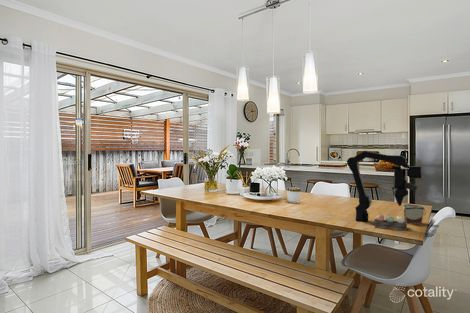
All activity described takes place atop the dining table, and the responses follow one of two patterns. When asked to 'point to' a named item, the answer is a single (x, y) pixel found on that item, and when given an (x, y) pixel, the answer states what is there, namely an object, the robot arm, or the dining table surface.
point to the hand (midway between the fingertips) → (399, 204)
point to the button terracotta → (380, 218)
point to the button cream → (400, 220)
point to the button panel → (390, 225)
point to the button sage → (390, 219)
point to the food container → (413, 213)
